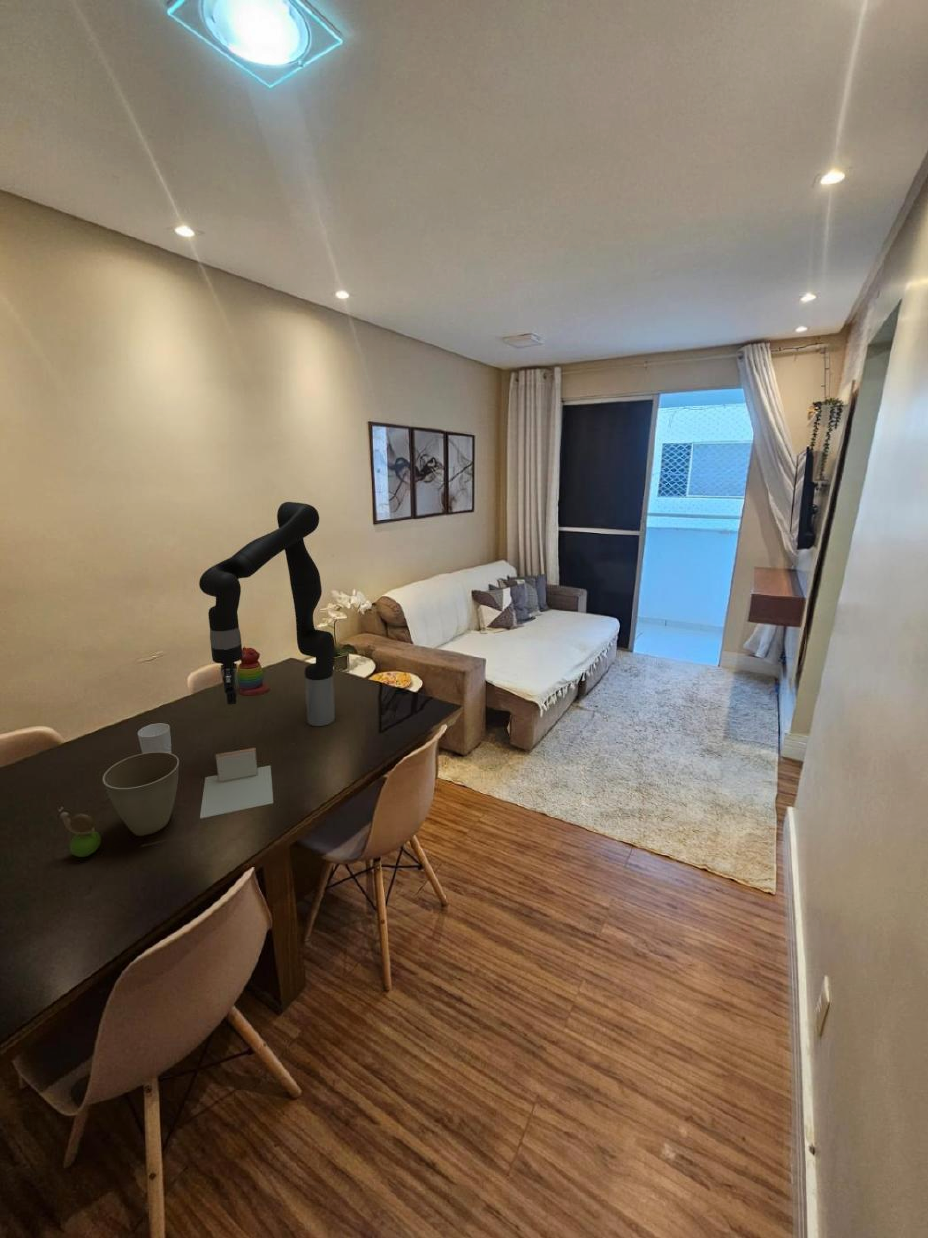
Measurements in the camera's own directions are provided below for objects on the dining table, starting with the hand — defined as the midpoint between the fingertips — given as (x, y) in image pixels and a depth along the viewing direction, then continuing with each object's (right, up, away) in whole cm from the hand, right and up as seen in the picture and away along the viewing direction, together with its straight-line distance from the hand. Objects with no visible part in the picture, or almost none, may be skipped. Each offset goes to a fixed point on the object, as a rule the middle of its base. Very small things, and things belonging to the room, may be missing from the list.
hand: (232, 700), depth 135 cm
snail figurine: (-19, -30, -28) cm, 45 cm away
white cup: (-25, -19, +7) cm, 33 cm away
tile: (+2, -22, 0) cm, 22 cm away
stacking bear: (-18, -6, +54) cm, 57 cm away
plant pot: (-10, -28, -19) cm, 35 cm away
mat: (+4, -24, -5) cm, 25 cm away
